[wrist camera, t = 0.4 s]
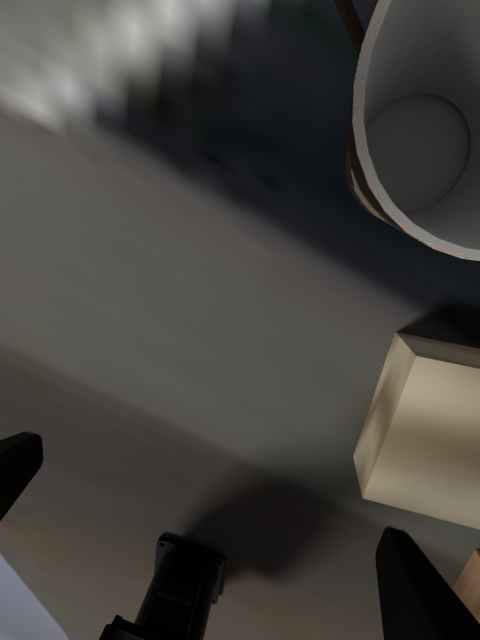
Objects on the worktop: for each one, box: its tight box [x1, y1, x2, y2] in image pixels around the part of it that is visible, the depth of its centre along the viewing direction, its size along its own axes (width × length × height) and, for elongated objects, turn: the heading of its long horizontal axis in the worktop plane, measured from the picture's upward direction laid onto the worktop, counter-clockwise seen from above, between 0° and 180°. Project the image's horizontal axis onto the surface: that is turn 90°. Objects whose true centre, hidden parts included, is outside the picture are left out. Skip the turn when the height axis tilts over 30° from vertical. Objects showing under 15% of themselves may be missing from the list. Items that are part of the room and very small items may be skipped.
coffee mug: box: [334, 0, 480, 261], centre depth 11 cm, size 12×9×10 cm
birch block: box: [353, 332, 480, 529], centre depth 19 cm, size 10×10×4 cm
